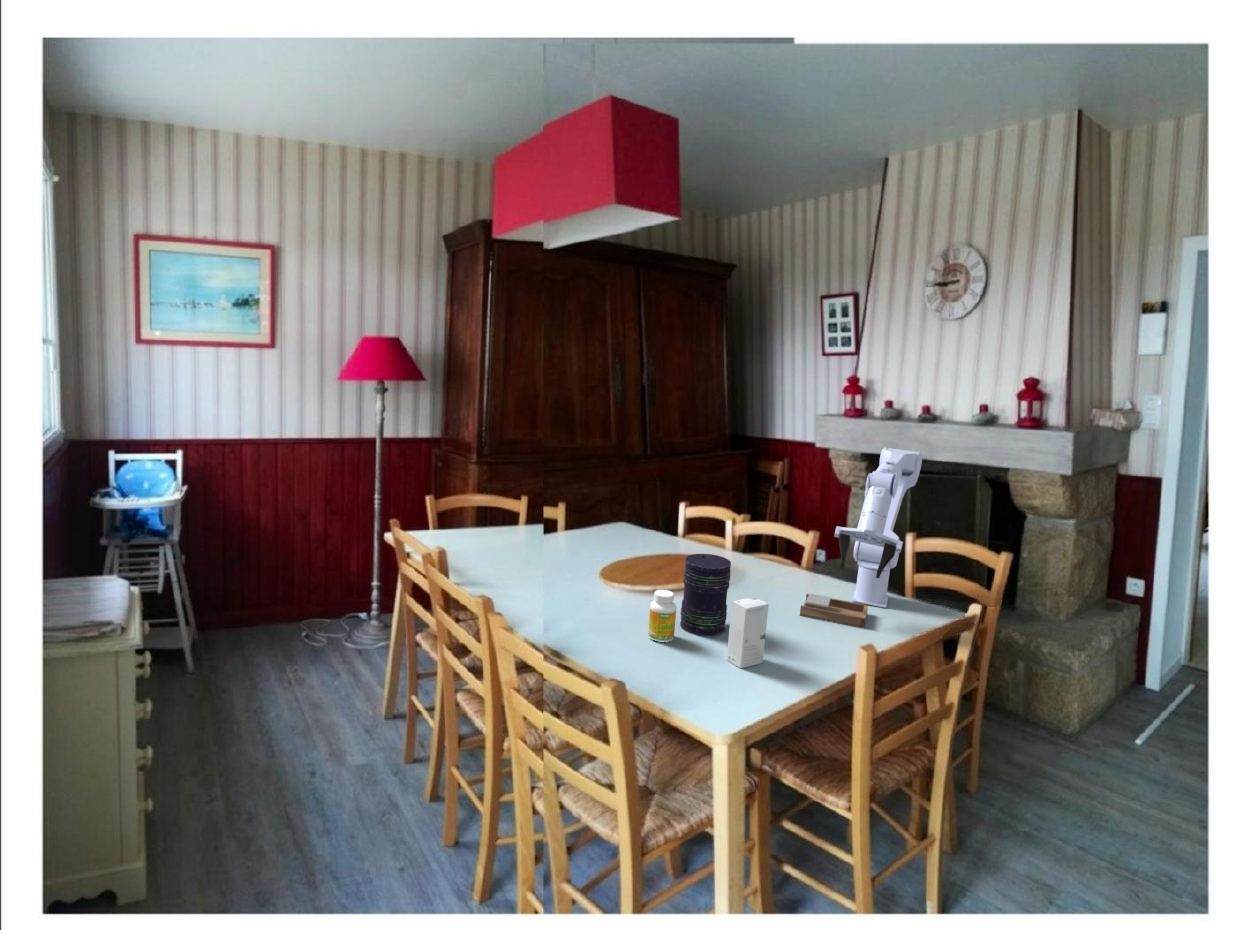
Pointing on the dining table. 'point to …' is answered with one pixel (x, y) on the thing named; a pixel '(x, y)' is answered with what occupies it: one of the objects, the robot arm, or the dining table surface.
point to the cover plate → (818, 602)
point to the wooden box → (839, 612)
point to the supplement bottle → (662, 616)
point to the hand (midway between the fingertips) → (859, 572)
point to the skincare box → (747, 632)
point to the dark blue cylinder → (705, 594)
